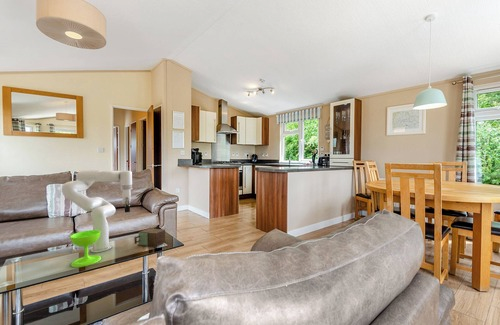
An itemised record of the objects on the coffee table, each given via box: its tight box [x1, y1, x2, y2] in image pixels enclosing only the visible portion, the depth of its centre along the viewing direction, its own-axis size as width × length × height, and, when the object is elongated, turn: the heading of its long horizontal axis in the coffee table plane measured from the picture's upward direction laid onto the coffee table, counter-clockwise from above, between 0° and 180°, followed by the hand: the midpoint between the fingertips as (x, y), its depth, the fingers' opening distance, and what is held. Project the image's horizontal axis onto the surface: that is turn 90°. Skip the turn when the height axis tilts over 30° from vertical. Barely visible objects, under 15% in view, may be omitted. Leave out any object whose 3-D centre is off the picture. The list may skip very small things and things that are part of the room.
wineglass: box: [69, 229, 102, 268], centre depth 146 cm, size 16×16×18 cm
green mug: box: [133, 232, 148, 246], centre depth 169 cm, size 8×6×9 cm
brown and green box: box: [137, 227, 166, 249], centre depth 175 cm, size 16×12×10 cm
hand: (127, 210), depth 164 cm, fingers open, 9 cm apart
